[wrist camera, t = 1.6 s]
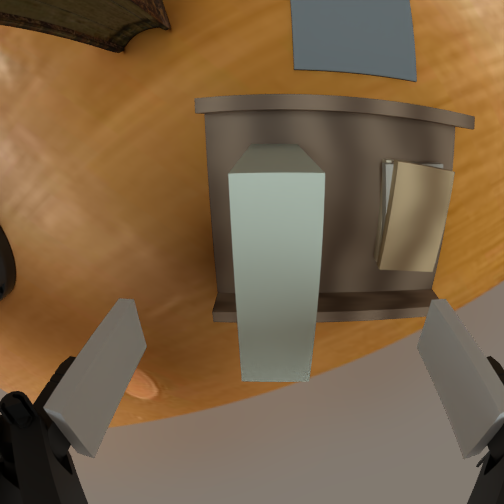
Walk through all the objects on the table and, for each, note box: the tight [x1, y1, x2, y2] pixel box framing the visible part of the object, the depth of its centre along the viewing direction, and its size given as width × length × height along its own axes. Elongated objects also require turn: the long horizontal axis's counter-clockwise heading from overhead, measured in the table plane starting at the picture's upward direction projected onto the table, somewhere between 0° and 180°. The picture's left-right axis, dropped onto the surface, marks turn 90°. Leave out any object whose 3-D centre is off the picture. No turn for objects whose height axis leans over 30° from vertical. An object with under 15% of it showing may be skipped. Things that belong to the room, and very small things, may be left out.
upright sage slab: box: [228, 144, 325, 382], centre depth 22 cm, size 4×12×15 cm, turn 2°
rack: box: [195, 94, 475, 322], centre depth 27 cm, size 24×20×5 cm
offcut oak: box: [376, 160, 455, 272], centre depth 26 cm, size 6×10×1 cm, turn 178°
